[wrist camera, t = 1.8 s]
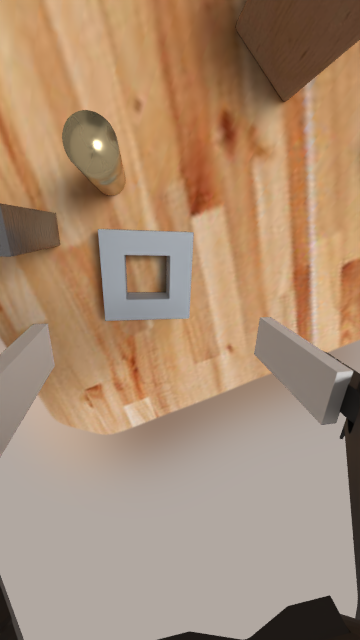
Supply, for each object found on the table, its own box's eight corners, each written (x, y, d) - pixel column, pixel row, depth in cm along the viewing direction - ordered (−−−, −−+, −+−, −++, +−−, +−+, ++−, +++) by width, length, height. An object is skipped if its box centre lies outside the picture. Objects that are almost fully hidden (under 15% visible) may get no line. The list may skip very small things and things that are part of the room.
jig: (108, 311, 37) (105, 320, 34) (102, 228, 33) (97, 229, 29) (184, 309, 39) (189, 318, 36) (187, 231, 35) (193, 232, 31)
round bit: (87, 167, 30) (50, 123, 17) (116, 154, 30) (101, 100, 17) (103, 200, 32) (81, 182, 19) (130, 187, 32) (127, 161, 19)
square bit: (28, 244, 32) (-44, 255, 19) (22, 211, 31) (-60, 200, 18) (60, 245, 33) (11, 256, 20) (55, 213, 31) (-1, 203, 18)
